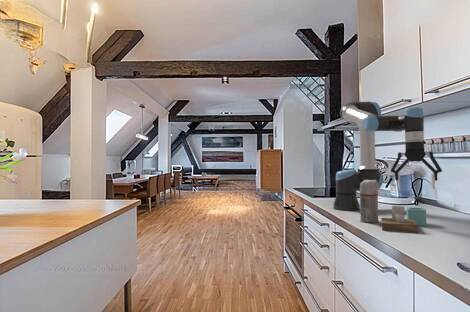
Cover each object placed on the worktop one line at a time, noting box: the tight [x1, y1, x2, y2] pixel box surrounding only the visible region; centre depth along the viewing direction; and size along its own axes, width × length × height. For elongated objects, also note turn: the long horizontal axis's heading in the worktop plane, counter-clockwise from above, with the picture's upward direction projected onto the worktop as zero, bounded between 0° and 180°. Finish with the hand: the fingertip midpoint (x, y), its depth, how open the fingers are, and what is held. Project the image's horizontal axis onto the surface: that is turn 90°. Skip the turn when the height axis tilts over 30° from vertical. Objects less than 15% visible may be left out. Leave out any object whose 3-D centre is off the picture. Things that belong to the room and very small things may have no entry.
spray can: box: [359, 180, 379, 224], centre depth 150 cm, size 8×8×20 cm
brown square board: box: [380, 204, 419, 234], centre depth 135 cm, size 13×13×10 cm
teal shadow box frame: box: [406, 206, 427, 227], centre depth 143 cm, size 7×7×7 cm
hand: (415, 188), depth 143 cm, fingers open, 13 cm apart
